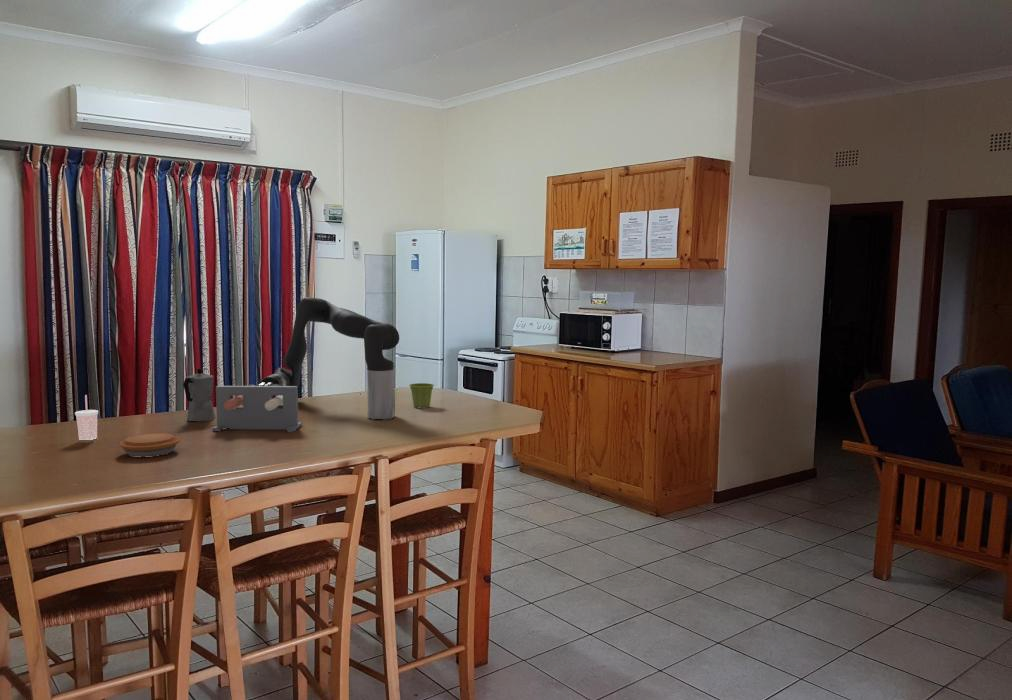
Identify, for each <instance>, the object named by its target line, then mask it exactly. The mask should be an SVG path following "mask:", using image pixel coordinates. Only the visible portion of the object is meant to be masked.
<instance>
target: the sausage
mask: <svg viewBox="0 0 1012 700" xmlns="http://www.w3.org/2000/svg"><path fill="white" fill-rule="evenodd" d="M223 406H224V409H226V410H231V409H233V408H239V407H240V406H243V395H236V397H233V398H232V399H231V400H228V401H226V402H225V403H224V405H223Z"/></svg>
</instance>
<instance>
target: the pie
mask: <svg viewBox="0 0 1012 700" xmlns="http://www.w3.org/2000/svg"><path fill="white" fill-rule="evenodd" d="M180 440H181V438H180V437H179V436H177V435H174V434H173V433H164V432H162V433H161V432H160V433H159V432H154V433H143V434H137V435H132V436H129V437H126V438H125V439H124V440H121V441H120V442H119V446H120V447H121V448H122V449H123V451H124V452H125V454H126V455H127V454H128V455H131V456H141V457H145V456H157V455H163V454H167V453H170V452H171V453H173V451H174V449H175V448H176V446H177V445H178V444H179V443H180ZM171 453H170V454H171ZM128 455H127V456H128ZM167 455H168V454H167Z"/></svg>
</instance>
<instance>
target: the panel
mask: <svg viewBox="0 0 1012 700" xmlns="http://www.w3.org/2000/svg"><path fill="white" fill-rule="evenodd" d="M298 387H299V385H298V386H256V385H255V386H249V385H217V386H215V401H216V402H215V403H216V404H215V405H216V426H213V427H211V428H212V429H211V432H212V431H219V430H221V429H223V428H226V429H225V430H286V431H288V432H287V433H294V432H296V431H297V430H298V429H300V428H301V427H302V425H303V422H302V421H299V396H298V395H299V393H298V392H299V391H298ZM237 395H243V405H242V407H236V408H233V409H231V410H226V409H224V406H223V405H224V403H225V402H226V401H228V400H231V399H233V398H232V397H233V396H237ZM276 396H283V406H282V407H276V408H275V409H273V410H271V411H268V410H266V409H265V403H266V402H268V401H270V400H271V399H272V397H276ZM300 426H301V427H300ZM299 427H300V428H299ZM227 428H229V429H227ZM297 428H298V429H297ZM296 429H297V430H296ZM223 430H224V429H223ZM221 431H222V430H221ZM293 431H294V432H293ZM219 432H220V431H219Z"/></svg>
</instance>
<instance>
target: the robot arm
mask: <svg viewBox="0 0 1012 700" xmlns="http://www.w3.org/2000/svg"><path fill="white" fill-rule="evenodd" d="M308 322H315V323H325V324H328V325H331V328H332V329H333V330H334V331H335V332H337V333H339V334H341V335H343V336H346V337H349V338H355V339H361V340H362V339H363V347H364V360H365V363H366V374H367V375H366V376H367V377H366V378H367V379H366V380H367V382H366V383H367V387H366V388H367V393H366V394H367V418H368V419H369V418H371V419H370V420H375V419H383V420H393V419H394V418H395V417H396V390H395V388H394V387H395V386H394V384H395V380H394V379H395V377H394V373H395V370H394V367H395V366H394V364H395V363H394V361H392V359H391V360H390V359H388V358H386V357H384V352H383V351H386V350H387V351H388V350H392V349H394V348H396V346H397V345H398V344H399V341H400V334H399V331H398V329H397V328H396V327H395V326H394V325H392V324H390V323H386V322H382V321H376V320H374V319H371V318H369V317H366V316H364V315H362V314H359V313H357V312H355V311H353V310H350V309H346V308H345V307H344V308H343V307H338V306H336V305H334V304H333V303H331V302H329V301H328V300H326V299H323V298H316V297H309V296H308V297H307V296H305V297H303V298H301V300H300V301H299V303H298V306H297V310H296V314H295V319H294V324H293V329H292V334H291V339H290V343H289V346H288V347H287V351H286V353H285V355H284V359H283V363H284V365H285V366H286V367H287V368H289V369H287V368H285V367H278V368H277V369H276V370H275V371H274V372H273V374H270V375H268V376H265V377H264V378H262V379H261V380H260V382H259V384H258V383H257V384H256V385H255V384H249V385H248V386H298V387H299V385H300V383H301V371H302V370H301V369H302V365H303V362H304V359H305V358H306V356H307V355H306V354H307V352H308V351H307V349H308V343H307V339H306V332H305V330H306V327H307V324H308ZM394 416H395V417H394ZM393 417H394V418H393ZM392 418H393V419H392Z"/></svg>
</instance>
